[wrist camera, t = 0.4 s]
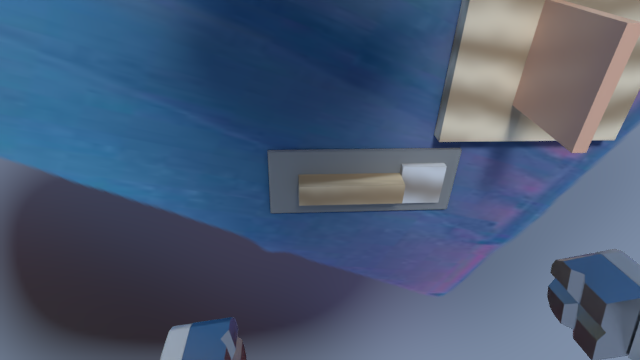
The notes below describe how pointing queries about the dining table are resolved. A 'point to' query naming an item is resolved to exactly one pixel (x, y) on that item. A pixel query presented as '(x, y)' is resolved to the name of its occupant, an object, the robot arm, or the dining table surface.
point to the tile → (574, 70)
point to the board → (513, 72)
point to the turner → (374, 186)
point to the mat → (351, 161)
